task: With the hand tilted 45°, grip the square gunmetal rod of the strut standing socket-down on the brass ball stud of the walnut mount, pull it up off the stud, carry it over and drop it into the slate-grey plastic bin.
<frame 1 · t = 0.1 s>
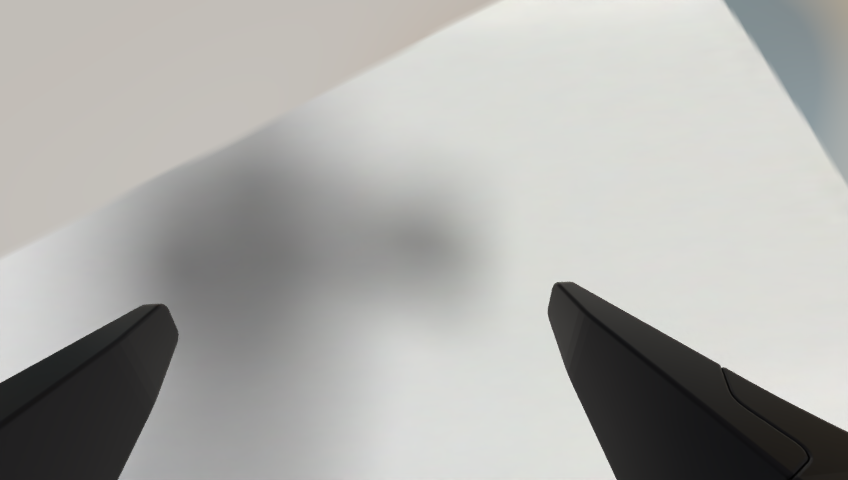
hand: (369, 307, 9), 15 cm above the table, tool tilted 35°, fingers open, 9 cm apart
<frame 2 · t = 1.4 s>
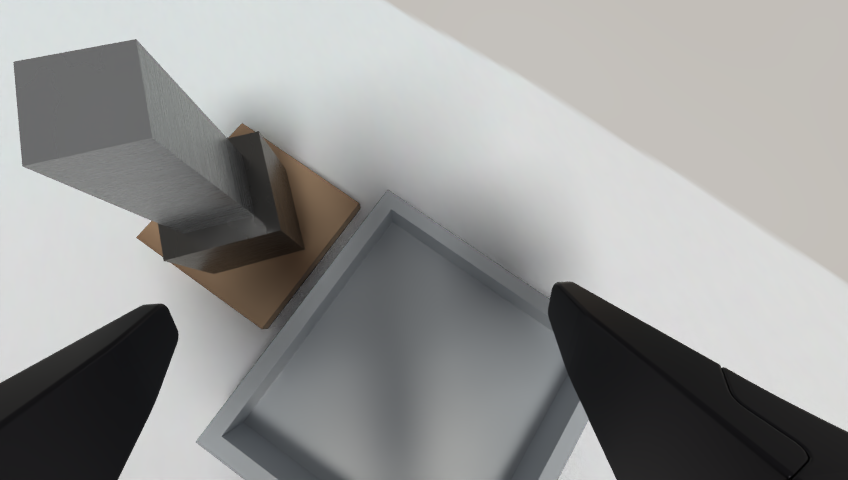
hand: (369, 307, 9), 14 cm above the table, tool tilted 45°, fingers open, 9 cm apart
stud mount: (257, 224, 23), on the table
strut: (251, 219, 22), point 1 cm above the table, touching stud mount
bin: (419, 381, 21), on the table
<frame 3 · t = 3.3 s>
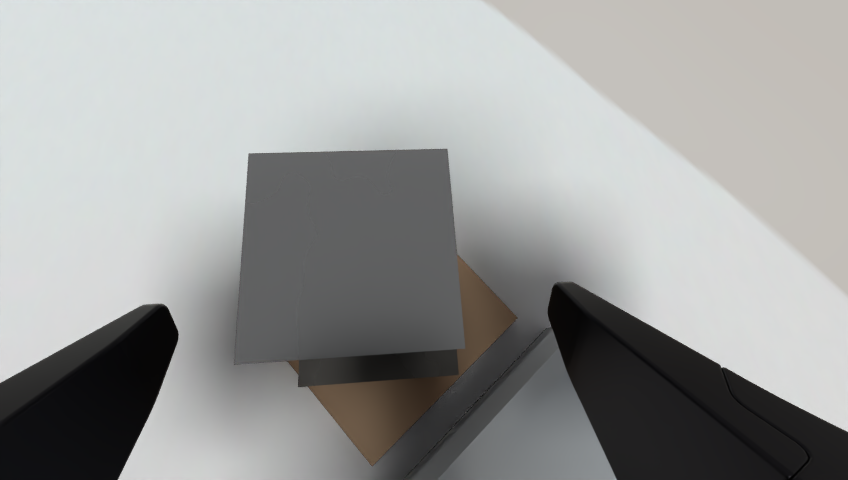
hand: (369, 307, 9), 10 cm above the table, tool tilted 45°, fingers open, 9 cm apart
stud mount: (383, 313, 18), on the table
strut: (382, 311, 17), point 1 cm above the table, touching stud mount
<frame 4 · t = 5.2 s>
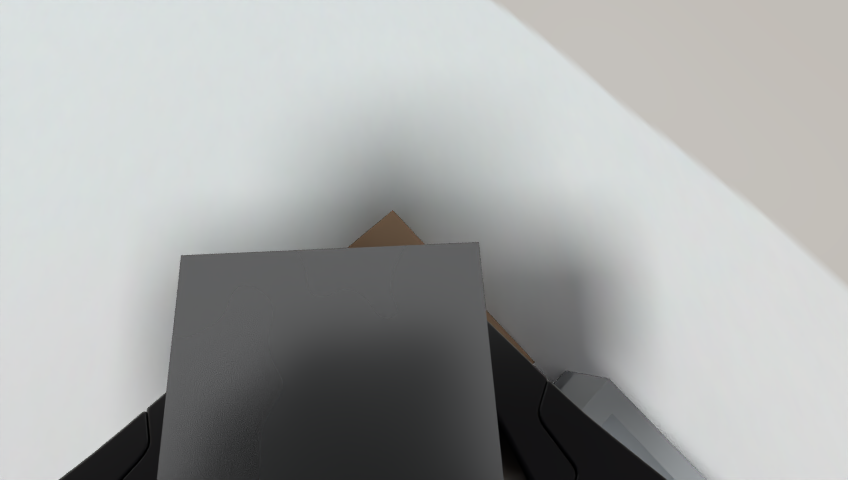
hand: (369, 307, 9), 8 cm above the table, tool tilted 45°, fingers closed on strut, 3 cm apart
stud mount: (383, 355, 16), on the table
strut: (383, 355, 15), point 1 cm above the table, touching gripper, stud mount
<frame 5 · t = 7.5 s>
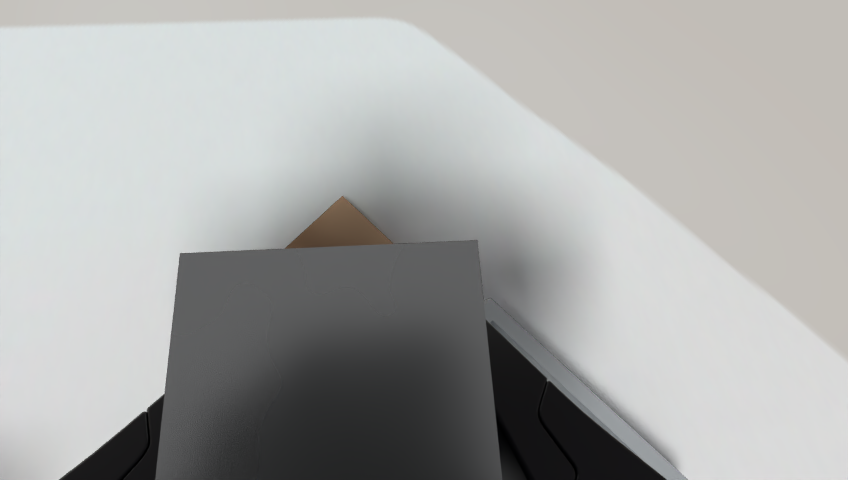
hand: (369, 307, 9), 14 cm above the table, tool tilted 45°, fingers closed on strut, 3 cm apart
stud mount: (342, 301, 22), on the table
strut: (382, 355, 15), point 7 cm above the table, touching gripper
when the fingers open (9 cm above the table, at t = 10.0 s): strut drops 1 cm, resting on bin.
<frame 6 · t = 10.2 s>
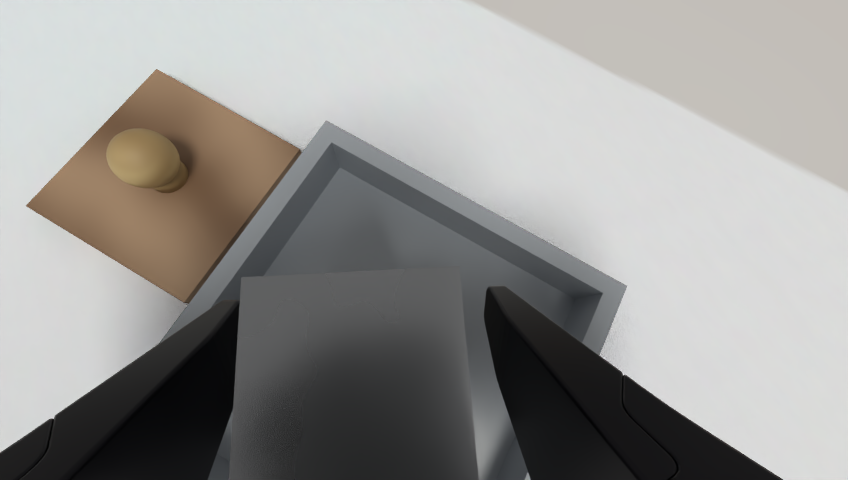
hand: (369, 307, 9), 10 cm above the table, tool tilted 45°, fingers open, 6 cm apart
stud mount: (180, 184, 19), on the table
strut: (384, 353, 17), point 1 cm above the table, touching bin
bin: (385, 353, 18), on the table
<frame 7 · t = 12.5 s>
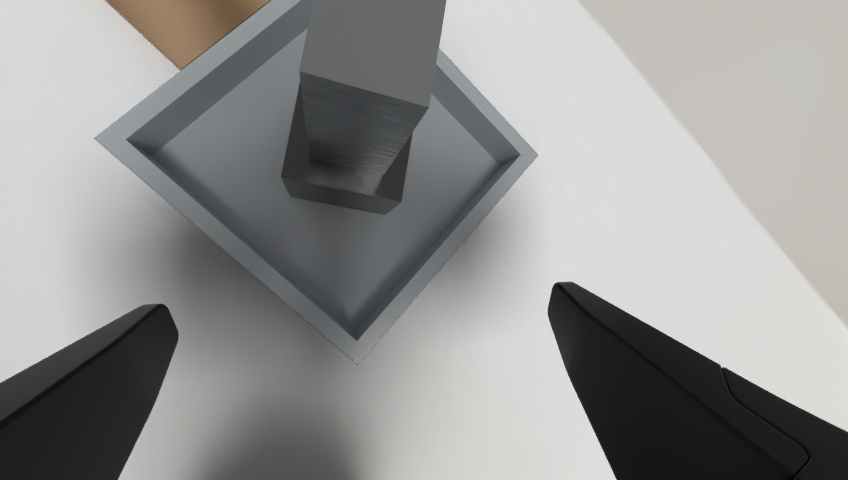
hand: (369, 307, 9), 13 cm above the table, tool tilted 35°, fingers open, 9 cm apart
strut: (347, 161, 21), point 1 cm above the table, touching bin
bin: (346, 166, 22), on the table
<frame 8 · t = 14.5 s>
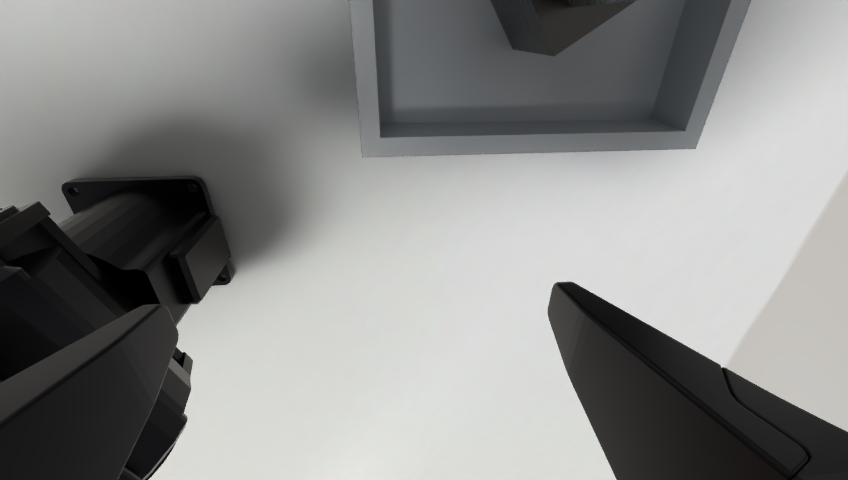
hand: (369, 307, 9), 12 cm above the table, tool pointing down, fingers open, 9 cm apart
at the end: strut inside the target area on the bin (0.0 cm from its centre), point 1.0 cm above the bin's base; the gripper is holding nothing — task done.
